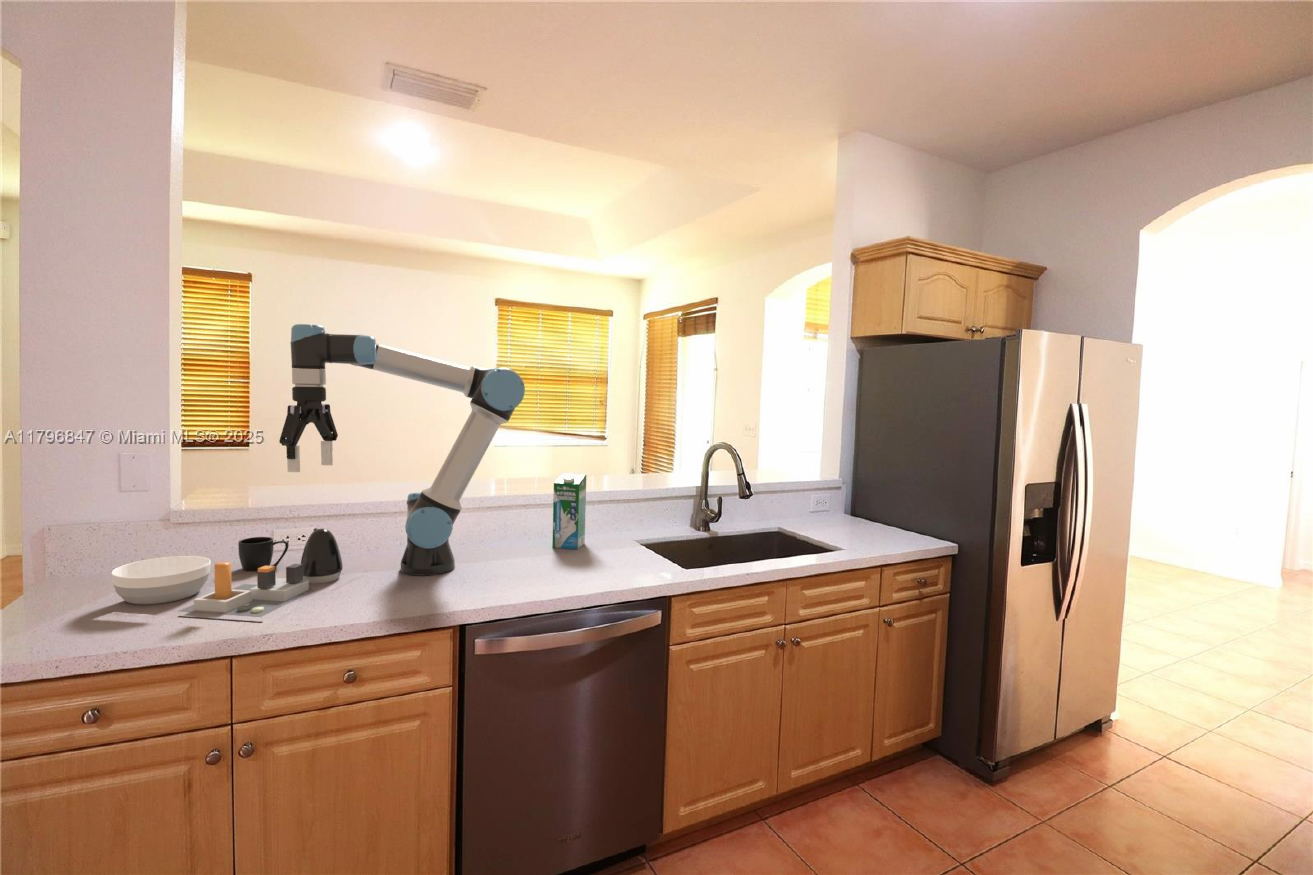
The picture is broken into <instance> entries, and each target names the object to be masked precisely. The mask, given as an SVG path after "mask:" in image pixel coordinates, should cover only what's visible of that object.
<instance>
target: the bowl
mask: <svg viewBox="0 0 1313 875" xmlns="http://www.w3.org/2000/svg"><path fill="white" fill-rule="evenodd" d="M211 563H212V561H211V559H210V558H208V557H204V556H198V555H176V556H175V555H174V556H173V555H172V556H164V557H163V556H161V557H156V558H147V559H142V560H137V561H132V562H130V563H127V564H126V563H125V564H123V565H120V566H118V567H116V568H114V569H113V570H112V571H111V574H110V575H111V583H112V585H113V587H114V590H115V593H116V594H117V595H118V596H119V597H121V599H122V600H123V601H124V602H127V603H130V604H133V605H146V606H147V605H159V604H166V603H172V602H177V601H180V600H184V599H187V598H189V597H191V596H194V595H195V594H197V593H198V592H200V591H201V590H202V588H203V587H204V585H205V584H206V583H207V581H208V580H209V576H210V572H211V566H212V564H211Z"/></svg>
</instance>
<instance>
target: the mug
mask: <svg viewBox="0 0 1313 875" xmlns="http://www.w3.org/2000/svg"><path fill="white" fill-rule="evenodd" d="M278 544H284V545H285V546H284V549H283V551H282V554H281V555H280V557H279V558H278V559H277V561H276V562H275V563H274V564H272V559H273V555H274V546H275V545H278ZM237 545H238V558H239V562H240V565H241V567H242V570H243V571H245V572H258V568H260V567H263V566H275V568H277V567H278V566H279V564H280V562H281V561H282V560H283V558H284V557H285V555H286V553H287V552H288V550H289V545H290V544H289V541H287V540H279V541H274V538H273V537H269V536H255V537H254V536H253V537H248V538H244V539H240V540H239V541H238V544H237Z"/></svg>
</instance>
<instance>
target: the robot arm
mask: <svg viewBox="0 0 1313 875" xmlns="http://www.w3.org/2000/svg"><path fill="white" fill-rule="evenodd" d="M325 330H326V329H325V327H324V326H323V325H320V324H306V323H305V324H303V323H297V324H293V326H291V330H290V331H291V332H290V334H291V335H290V356H291V359H290V360H291V383H292V384H293V385H294V386H292V388H291V389H292V390H291V395H292V401H293V402H296V405H294V404H293V405H290V404H289V405H288V406H287V410H286V411H287V412H286V414H287V415H286V417H285V420H284V423H283V426H282V427H283V428H282V430H281V434H280V438H279V440H278V441H279V442H278V443H279V444H281V446H282V447H283V446H284V447H285V446H286V458H287V459H286V460H287V473H300V472H301V456H300V455H301V454H300V453H301V452H300V448H301V447H300V445H298V443H299V441H300V438H301V437H302V435H303V433H304V431H305V429H306V427H307V425H309V424H310V423H312V424H313V425H314V426H315V428H316V430H317V432H318V434H319V435H320V436H321V438H322V440H320V459H321V460H320V461H321V464H320V465H321V466H333V464H334V463H333V449H334V448H333V442H334V441H335V442H336V441H337V438H338V437H339V436H338V435H339V434H338V431H337V427H336V425H335V421H334V418H333V416H332V415H333V414H332V413H331V405H330V404H328V403H322V402H325V401H327V388H326V387H324V385H326V384H327V378H326V363H327V364H344V365H345V364H347V365H348V364H349V365H351V366H355V367H361V368H363V369H369V370H373V371H378V372H381V373H385V374H389V375H393V376H396V377H402V378H405V379H408V380H409V379H410V380H413V381H417V382H421V383H424V384H427V385H428V384H429V385H432V386H435V387H436V386H437V387H440V388H444V389H448V390H452V391H456V392H460V393H463V395H464V396H465V398H469V399H471V400H470V402H469V404H470V407H471V408H470V409H471V412H470V414H469V415H468V418H467V419H466V421H465V423H464V424H463V427H462V428H461V430H460V432H459V434H458V436H457V437H456V440H455V442H454V444H453V445H452V447H451V449H450V450H449V452H448V454H447V456H446V458H445V460H444V462H443V464H442V465H441V467H440V469H439V471H438V473H437V475H436V477H435V479H434V480H433V482H432V484H431V486H430V487H428V488H426V489H423V490H422V491H421V492H419V491H418V492H411V493H408V495H407V500H406V505H407V506H406V507H407V511H406V522H405V527H404V528H405V533H406V546H405V550H404V552H403V555H402V558H401V560H400V571H401V572H402V573H403V574H407V575H410V576H411V575H412V576H433V575H434V576H435V575H441V574H445V573H447V572H451V571H452V570H454V569H455V567H456V566H455V556H454V554H453V551H452V548H451V545H450V542H449V539H450V537H451V535H452V534H453V529H454V528H453V526H454V524H455V522H456V520H457V518H458V516H459V515H460V512H461V510H462V505H461V504H462V503H461V499H462V497H463V496H464V493H465V491H466V490H467V487H468V486H469V484H470V482H471V480H472V478H473V476H474V475H475V472H476V470H477V469H478V468H479V465H480V463H481V461H483V460H482V459H483V457H484V456H485V454H486V451H487V450H488V448H489V446H490V444H491V443H492V441H493V439H494V437H495V435H496V433H497V431H498V430H499V428H500V426H501V425H504V424H506V423H509V420H510V419H511V417H512V415H513V413H514V411H515V409H516V408H517V407H518V406H519V405H520V404H521V403H522V401H523V400H524V397H525V393H526V392H525V391H526V389H525V388H526V387H525V383H524V381H523V379H522V377H521V375H519V373H517V372H516V371H515V370H513V369H511V368H508V367H504V366H503V367H502V366H501V367H500V366H499V367H495V368H487V367H486V368H485V367H481V366H480V367H479V366H476V365H472V366H470V367H468V366H465V365H459V364H456V363H451V362H448V361H446V360H445V361H444V360H442V359H437V358H433V357H430V356H425V355H422V354H418V353H415V352H411V351H408V350H403V349H399V348H395V347H392V346H389V345H384V344H382V343H381V344H380V343H377V341H376V340H377V339H376V338H375V337H374V336H372V335H364V334H340V333H339V334H337V333H336V334H335V333H334V334H333V333H329V332H326V331H325Z"/></svg>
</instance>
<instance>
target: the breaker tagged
mask: <svg viewBox="0 0 1313 875" xmlns="http://www.w3.org/2000/svg"><path fill="white" fill-rule="evenodd" d="M256 573H257V575H256V577H257V580H256V581H257V582H256V583H257V584H256V585H258V588H261V589H268V588H270V587H272V586H274V585H276V578H277V577H276V567H275V566H272V565H270V566H263V567H260V568H258V571H256Z"/></svg>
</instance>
